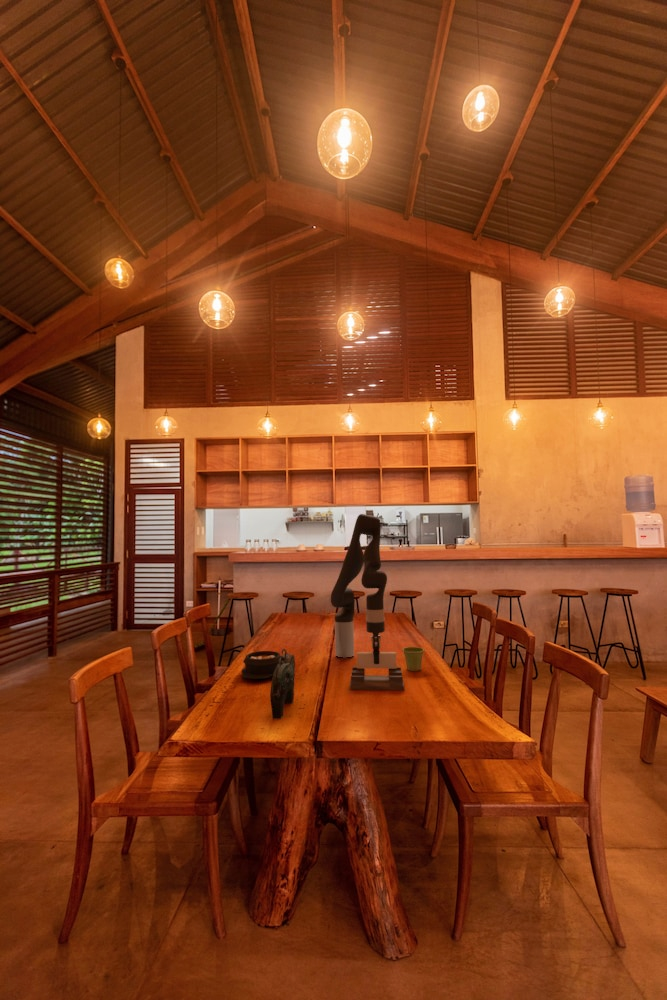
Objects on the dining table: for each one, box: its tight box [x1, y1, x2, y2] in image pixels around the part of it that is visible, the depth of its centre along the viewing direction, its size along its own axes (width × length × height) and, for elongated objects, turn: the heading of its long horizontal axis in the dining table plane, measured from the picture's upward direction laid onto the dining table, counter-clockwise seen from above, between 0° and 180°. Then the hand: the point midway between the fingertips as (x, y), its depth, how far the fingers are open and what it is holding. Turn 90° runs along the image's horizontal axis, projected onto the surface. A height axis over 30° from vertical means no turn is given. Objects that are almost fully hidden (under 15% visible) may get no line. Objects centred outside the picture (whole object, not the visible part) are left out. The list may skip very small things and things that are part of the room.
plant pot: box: [402, 646, 425, 672], centre depth 210 cm, size 9×9×9 cm
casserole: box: [240, 650, 281, 680], centre depth 207 cm, size 25×19×8 cm
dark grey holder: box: [349, 666, 405, 691], centre depth 190 cm, size 14×21×5 cm, turn 85°
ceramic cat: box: [269, 648, 296, 720], centre depth 166 cm, size 20×6×20 cm, turn 171°
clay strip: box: [356, 651, 398, 670], centre depth 194 cm, size 2×16×6 cm, turn 85°
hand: (376, 662), depth 194 cm, fingers closed on clay strip, 2 cm apart
